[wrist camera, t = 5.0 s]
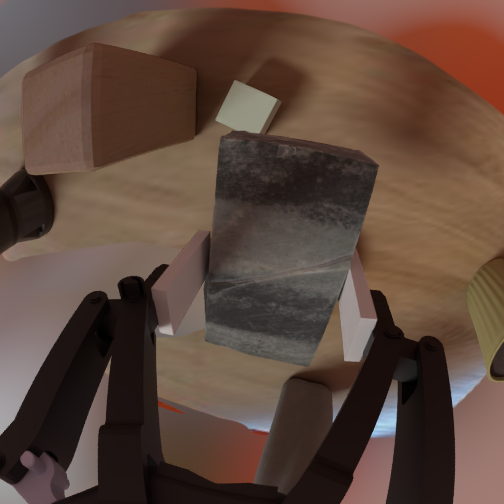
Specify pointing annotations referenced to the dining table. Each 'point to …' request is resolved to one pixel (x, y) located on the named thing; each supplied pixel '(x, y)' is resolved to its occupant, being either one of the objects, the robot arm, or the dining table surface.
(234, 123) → the sage cube
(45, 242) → the dining table surface
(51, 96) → the wooden block
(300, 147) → the stone block
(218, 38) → the dining table surface
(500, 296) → the potted cactus
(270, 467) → the vase
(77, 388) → the robot arm
